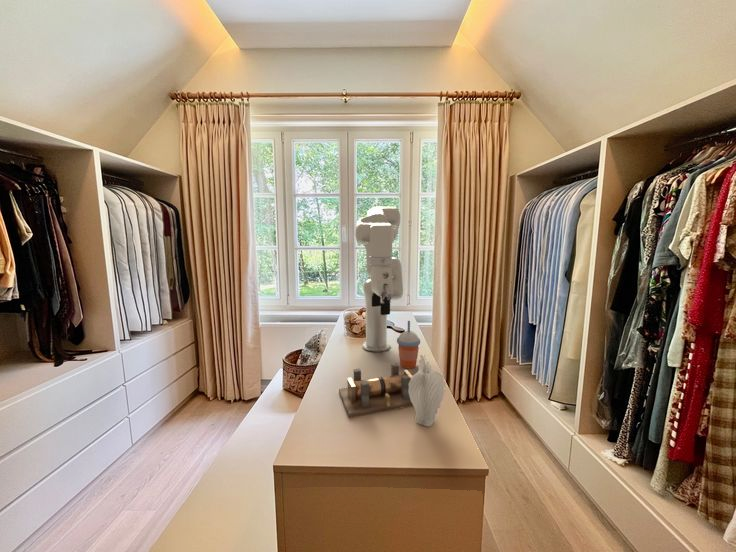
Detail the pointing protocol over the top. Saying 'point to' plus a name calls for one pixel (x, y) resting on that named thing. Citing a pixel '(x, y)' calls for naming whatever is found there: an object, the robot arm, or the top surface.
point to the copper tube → (376, 386)
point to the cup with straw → (408, 348)
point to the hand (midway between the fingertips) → (380, 310)
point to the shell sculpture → (426, 392)
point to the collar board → (376, 397)
